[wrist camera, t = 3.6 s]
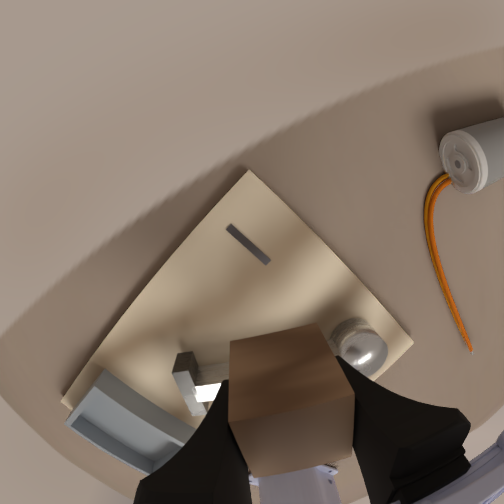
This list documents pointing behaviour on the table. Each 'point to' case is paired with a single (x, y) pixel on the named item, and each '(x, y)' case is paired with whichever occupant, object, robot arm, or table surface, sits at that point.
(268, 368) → the block
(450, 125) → the table surface
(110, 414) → the tray
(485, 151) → the motor
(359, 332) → the crank lever
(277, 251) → the base board
